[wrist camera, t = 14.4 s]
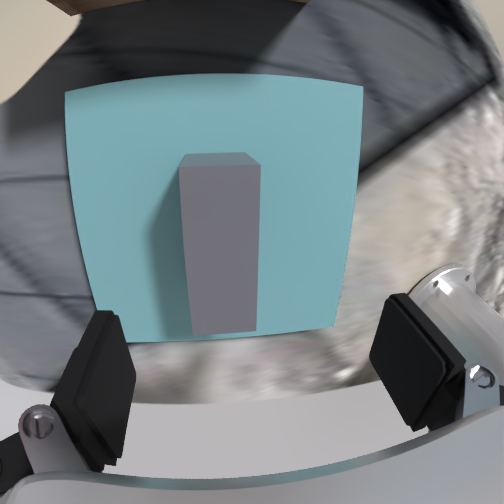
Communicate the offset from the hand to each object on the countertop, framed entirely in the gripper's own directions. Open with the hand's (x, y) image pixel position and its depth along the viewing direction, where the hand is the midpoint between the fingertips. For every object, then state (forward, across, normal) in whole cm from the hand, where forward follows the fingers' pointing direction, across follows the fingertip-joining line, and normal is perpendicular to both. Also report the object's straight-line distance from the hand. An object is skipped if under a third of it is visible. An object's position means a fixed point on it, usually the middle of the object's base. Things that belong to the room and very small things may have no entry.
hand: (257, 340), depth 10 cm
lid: (+13, +1, -1) cm, 13 cm away
